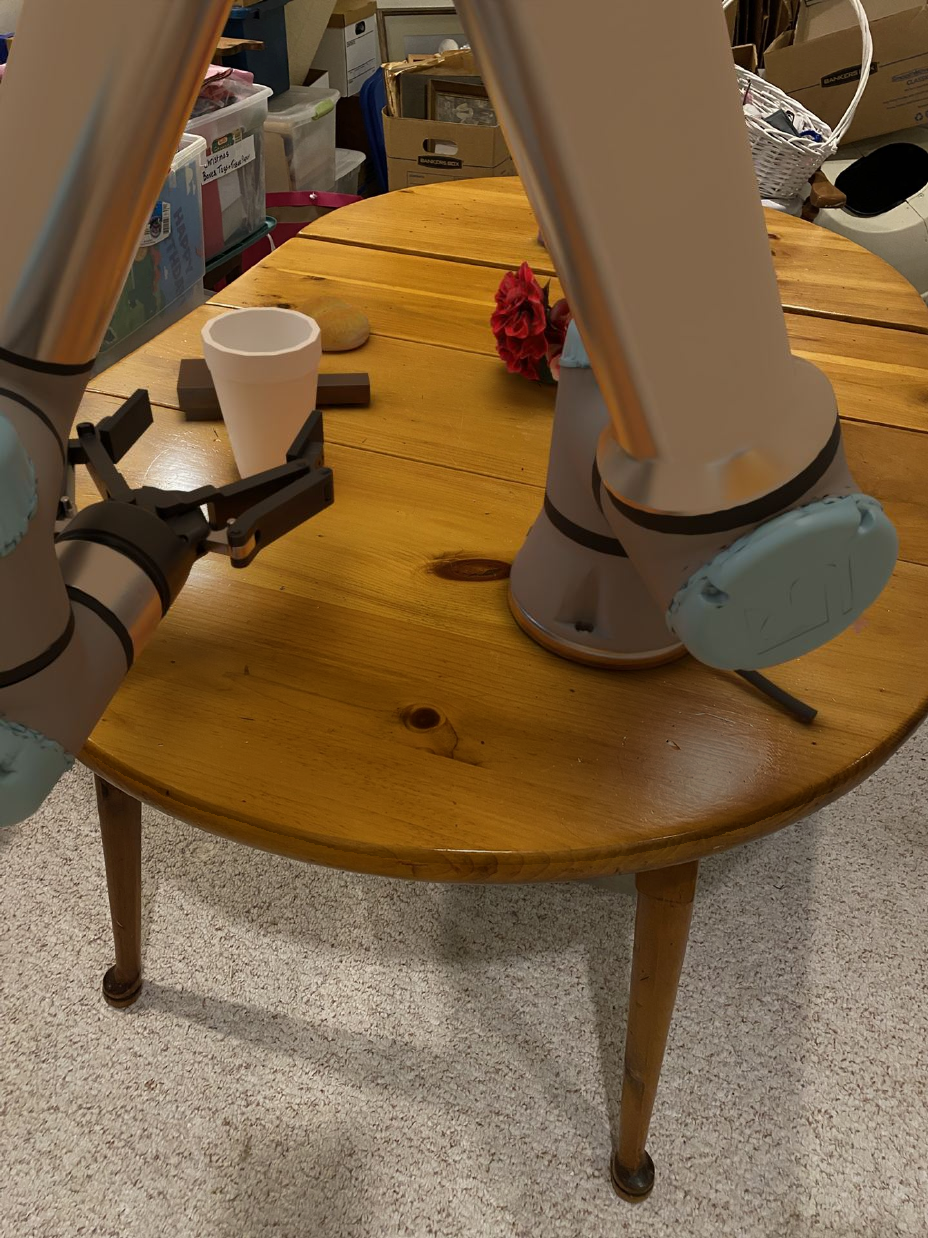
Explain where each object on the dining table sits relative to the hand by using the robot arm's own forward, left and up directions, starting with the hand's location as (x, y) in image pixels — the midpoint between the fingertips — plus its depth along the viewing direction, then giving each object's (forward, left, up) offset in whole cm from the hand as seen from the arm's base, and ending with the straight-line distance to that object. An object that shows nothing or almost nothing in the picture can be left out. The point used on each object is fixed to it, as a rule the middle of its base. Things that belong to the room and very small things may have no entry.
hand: (231, 415), depth 70 cm
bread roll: (+33, -16, -10) cm, 38 cm away
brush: (+19, -6, -10) cm, 23 cm away
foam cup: (+8, -4, -10) cm, 13 cm away
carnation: (+22, -43, -10) cm, 50 cm away
